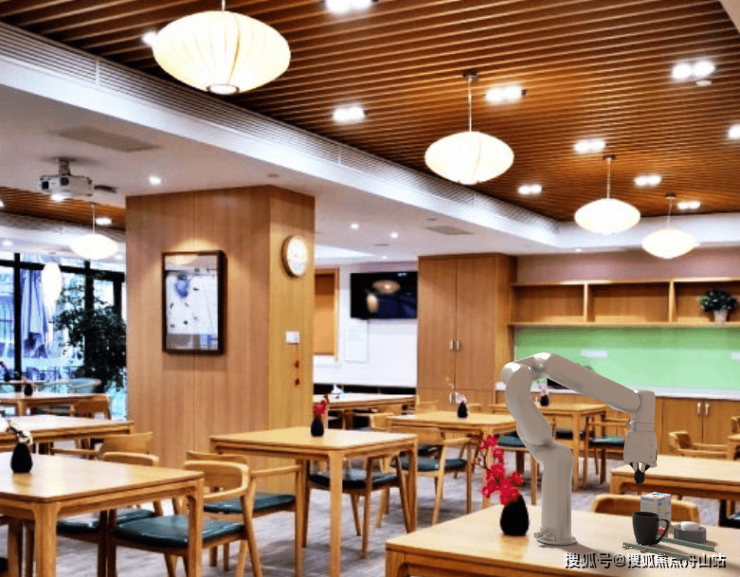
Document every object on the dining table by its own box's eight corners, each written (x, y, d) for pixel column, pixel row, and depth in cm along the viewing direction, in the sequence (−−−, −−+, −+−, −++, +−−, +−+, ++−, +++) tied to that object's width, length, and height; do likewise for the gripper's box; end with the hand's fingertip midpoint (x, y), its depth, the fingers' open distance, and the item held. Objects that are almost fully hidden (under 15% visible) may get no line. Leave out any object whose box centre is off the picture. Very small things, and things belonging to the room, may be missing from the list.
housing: (696, 545, 287) (697, 532, 287) (668, 539, 294) (668, 527, 295) (711, 540, 294) (711, 528, 294) (682, 534, 301) (682, 522, 302)
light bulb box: (654, 521, 321) (654, 491, 321) (671, 525, 316) (672, 494, 316) (639, 526, 313) (639, 495, 313) (657, 529, 308) (657, 498, 309)
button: (693, 541, 290) (693, 526, 291) (677, 538, 294) (677, 523, 295) (701, 538, 294) (701, 523, 294) (685, 535, 298) (685, 520, 298)
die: (666, 539, 295) (666, 528, 295) (656, 537, 296) (656, 527, 297) (668, 537, 297) (668, 527, 298) (659, 536, 299) (659, 525, 299)
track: (683, 562, 267) (683, 558, 267) (618, 547, 283) (618, 543, 283) (714, 550, 280) (714, 547, 280) (650, 537, 296) (650, 534, 296)
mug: (662, 550, 280) (662, 520, 280) (627, 543, 288) (627, 513, 289) (674, 546, 285) (674, 516, 286) (640, 539, 294) (640, 510, 294)
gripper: (616, 425, 296) (613, 481, 295) (661, 430, 288) (659, 488, 287) (622, 424, 302) (620, 479, 302) (668, 429, 294) (665, 485, 294)
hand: (639, 483), depth 294 cm, fingers closed
